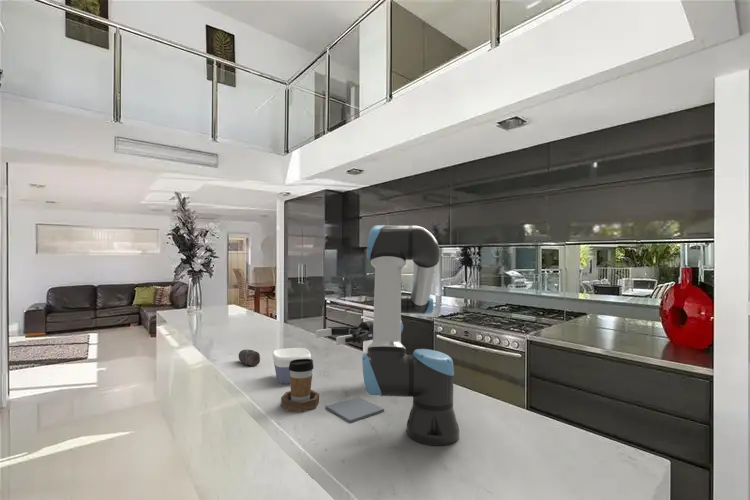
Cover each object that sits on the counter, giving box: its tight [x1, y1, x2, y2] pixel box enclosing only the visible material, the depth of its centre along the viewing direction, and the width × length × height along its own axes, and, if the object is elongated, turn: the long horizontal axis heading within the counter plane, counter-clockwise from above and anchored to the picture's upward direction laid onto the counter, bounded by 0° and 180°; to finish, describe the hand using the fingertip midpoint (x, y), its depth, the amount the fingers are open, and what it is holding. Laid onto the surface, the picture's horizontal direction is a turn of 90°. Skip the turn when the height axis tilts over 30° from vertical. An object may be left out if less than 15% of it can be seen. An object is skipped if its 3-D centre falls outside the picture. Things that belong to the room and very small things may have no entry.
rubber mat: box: [324, 396, 385, 424], centre depth 121 cm, size 14×14×1 cm
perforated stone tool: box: [238, 349, 261, 367], centre depth 172 cm, size 15×5×7 cm, turn 48°
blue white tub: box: [272, 347, 312, 385], centre depth 151 cm, size 15×15×11 cm
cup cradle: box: [280, 389, 320, 413], centre depth 125 cm, size 12×12×3 cm
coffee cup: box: [289, 358, 314, 402], centre depth 125 cm, size 8×8×15 cm
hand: (326, 337), depth 133 cm, fingers open, 13 cm apart
